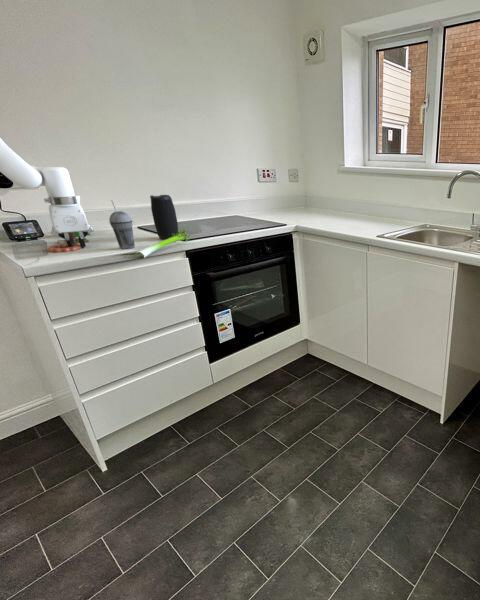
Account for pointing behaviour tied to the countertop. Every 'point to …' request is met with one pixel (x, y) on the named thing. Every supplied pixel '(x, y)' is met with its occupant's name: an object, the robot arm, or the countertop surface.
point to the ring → (63, 248)
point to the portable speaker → (164, 216)
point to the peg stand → (73, 238)
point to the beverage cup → (122, 229)
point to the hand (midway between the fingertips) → (77, 248)
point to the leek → (164, 243)
